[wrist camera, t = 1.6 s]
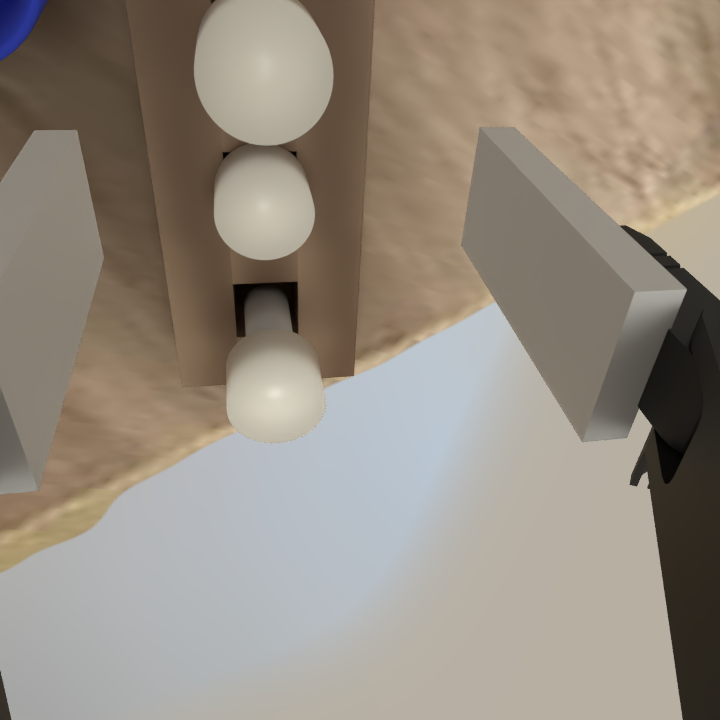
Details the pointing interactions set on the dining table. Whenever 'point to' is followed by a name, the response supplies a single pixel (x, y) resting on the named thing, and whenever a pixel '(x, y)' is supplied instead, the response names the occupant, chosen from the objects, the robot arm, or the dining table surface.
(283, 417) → the knob
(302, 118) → the knob
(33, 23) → the mug
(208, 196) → the mount
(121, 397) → the dining table surface
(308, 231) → the knob
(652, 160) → the dining table surface
